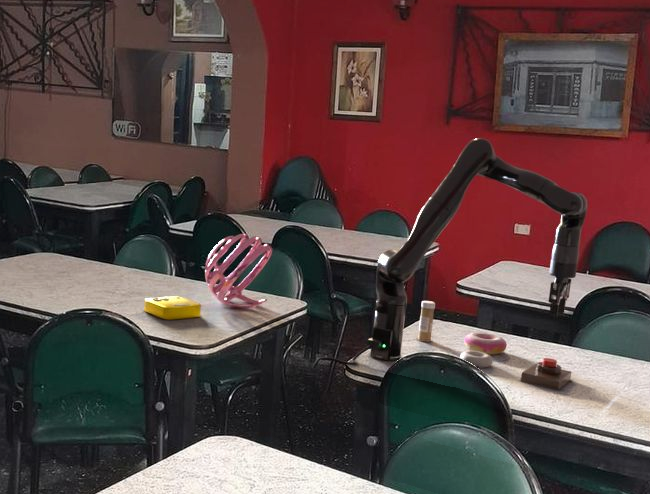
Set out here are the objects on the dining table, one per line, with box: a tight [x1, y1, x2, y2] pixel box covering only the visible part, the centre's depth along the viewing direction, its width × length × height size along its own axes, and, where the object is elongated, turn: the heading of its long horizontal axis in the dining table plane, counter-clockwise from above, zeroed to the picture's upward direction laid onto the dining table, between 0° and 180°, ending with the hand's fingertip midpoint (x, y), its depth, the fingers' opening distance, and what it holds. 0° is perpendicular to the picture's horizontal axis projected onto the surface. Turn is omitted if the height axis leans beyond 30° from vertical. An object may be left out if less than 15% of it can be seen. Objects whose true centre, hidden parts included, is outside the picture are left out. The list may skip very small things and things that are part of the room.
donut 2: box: [459, 350, 493, 369], centre depth 266 cm, size 10×4×10 cm
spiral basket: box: [204, 233, 274, 309], centre depth 318 cm, size 28×28×27 cm
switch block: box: [520, 361, 572, 391], centre depth 254 cm, size 14×11×4 cm
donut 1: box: [464, 332, 507, 356], centre depth 284 cm, size 14×13×5 cm
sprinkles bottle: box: [417, 300, 436, 343], centre depth 290 cm, size 5×5×14 cm
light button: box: [542, 357, 558, 368], centre depth 255 cm, size 4×4×2 cm
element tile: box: [144, 295, 202, 321], centre depth 296 cm, size 15×15×5 cm
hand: (556, 314), depth 253 cm, fingers open, 7 cm apart
